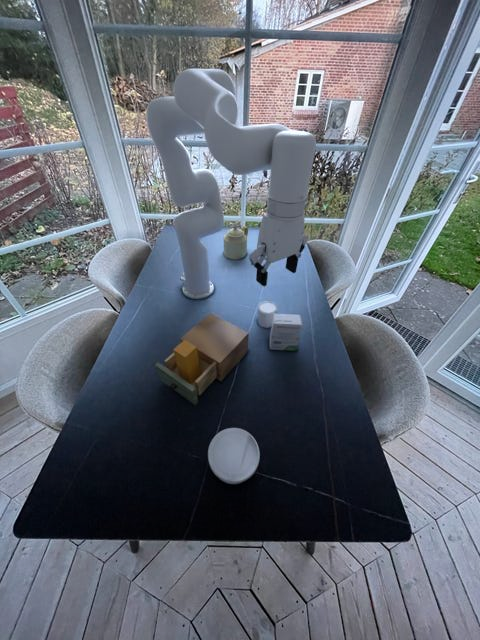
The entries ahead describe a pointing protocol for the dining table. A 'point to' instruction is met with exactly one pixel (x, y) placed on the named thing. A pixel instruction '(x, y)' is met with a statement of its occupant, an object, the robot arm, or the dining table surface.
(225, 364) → the cabinet
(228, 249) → the sugar bowl
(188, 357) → the block
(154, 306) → the dining table surface
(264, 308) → the white cylinder
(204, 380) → the drawer
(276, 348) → the ink box
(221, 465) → the ramekin
